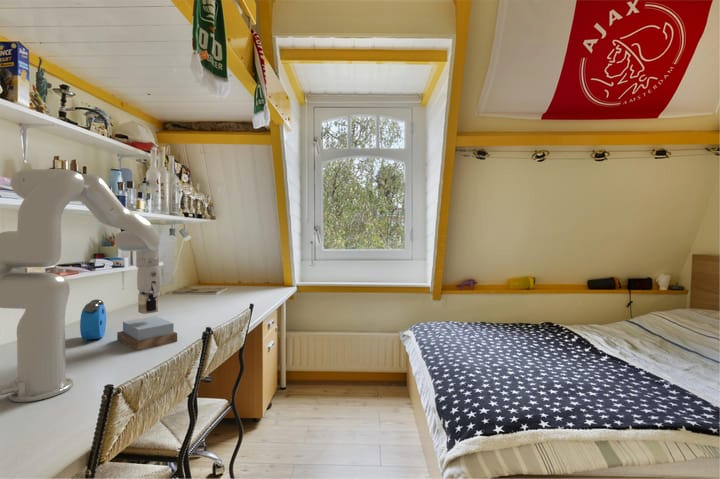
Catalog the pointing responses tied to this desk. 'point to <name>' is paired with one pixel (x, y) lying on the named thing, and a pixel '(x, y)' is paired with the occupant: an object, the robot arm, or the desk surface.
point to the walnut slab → (145, 341)
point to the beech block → (142, 304)
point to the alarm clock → (93, 320)
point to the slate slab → (148, 328)
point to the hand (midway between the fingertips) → (148, 309)
